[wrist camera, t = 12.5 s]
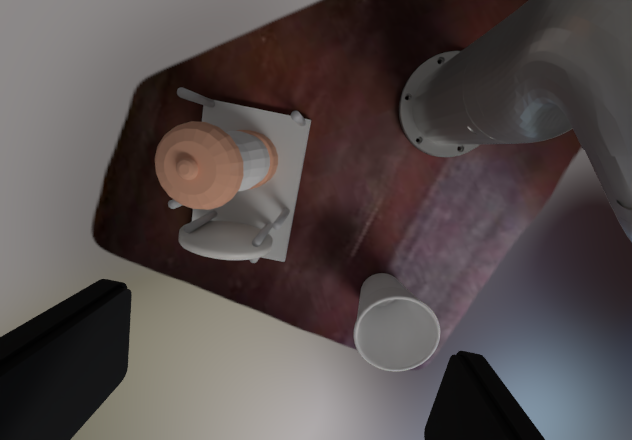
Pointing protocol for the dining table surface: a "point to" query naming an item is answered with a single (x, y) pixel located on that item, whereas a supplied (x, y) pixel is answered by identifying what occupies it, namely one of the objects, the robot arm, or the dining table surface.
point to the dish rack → (252, 204)
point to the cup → (394, 325)
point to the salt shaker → (212, 163)
